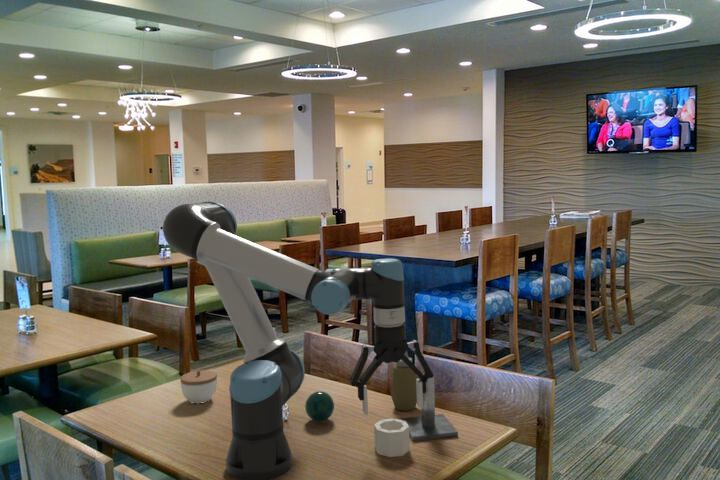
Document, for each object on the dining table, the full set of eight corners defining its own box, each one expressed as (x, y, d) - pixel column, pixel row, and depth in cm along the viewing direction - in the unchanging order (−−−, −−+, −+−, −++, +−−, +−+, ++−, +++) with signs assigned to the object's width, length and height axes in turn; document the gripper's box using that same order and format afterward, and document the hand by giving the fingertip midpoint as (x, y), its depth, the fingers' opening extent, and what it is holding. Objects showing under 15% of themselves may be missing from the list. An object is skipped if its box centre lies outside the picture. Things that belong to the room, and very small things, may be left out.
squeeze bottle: (417, 413, 167) (416, 351, 165) (389, 412, 168) (387, 350, 166) (420, 403, 174) (419, 343, 173) (393, 401, 176) (392, 342, 174)
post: (412, 441, 149) (411, 383, 148) (400, 422, 161) (399, 369, 159) (457, 436, 151) (457, 379, 150) (442, 418, 163) (442, 365, 162)
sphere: (324, 412, 169) (323, 385, 169) (340, 421, 163) (339, 392, 162) (300, 419, 165) (299, 391, 164) (315, 428, 158) (314, 399, 157)
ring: (379, 458, 140) (379, 433, 140) (372, 443, 148) (372, 420, 148) (412, 454, 142) (411, 430, 141) (403, 440, 150) (403, 417, 149)
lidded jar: (188, 394, 187) (186, 365, 186) (222, 394, 186) (220, 364, 185) (176, 407, 176) (174, 376, 175) (212, 407, 176) (210, 376, 175)
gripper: (340, 331, 136) (344, 421, 138) (444, 322, 140) (447, 409, 143) (335, 324, 143) (339, 409, 145) (434, 315, 148) (437, 398, 150)
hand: (392, 409), depth 144 cm, fingers open, 13 cm apart
